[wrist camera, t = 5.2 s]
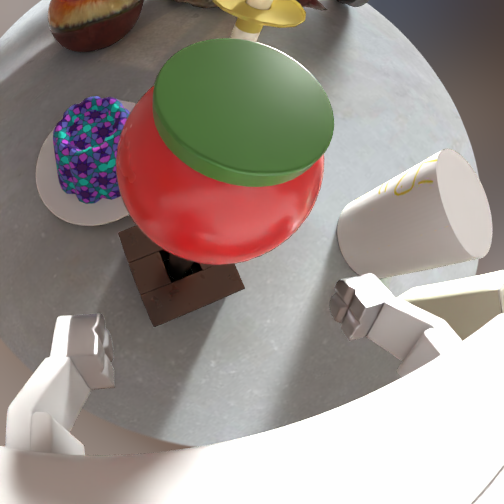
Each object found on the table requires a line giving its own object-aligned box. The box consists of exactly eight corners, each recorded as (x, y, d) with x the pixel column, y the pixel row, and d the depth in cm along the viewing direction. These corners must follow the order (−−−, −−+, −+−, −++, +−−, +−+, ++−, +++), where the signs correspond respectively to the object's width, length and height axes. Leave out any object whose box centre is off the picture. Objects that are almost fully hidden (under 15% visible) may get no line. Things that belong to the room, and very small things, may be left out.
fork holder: (229, 292, 22) (245, 288, 18) (156, 323, 20) (153, 327, 16) (198, 220, 22) (207, 199, 18) (126, 247, 20) (117, 232, 16)
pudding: (66, 257, 18) (41, 242, 14) (26, 145, 18) (5, 113, 14) (196, 181, 23) (206, 149, 18) (136, 87, 23) (136, 48, 18)
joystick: (211, 285, 22) (409, 187, 4) (162, 305, 20) (151, 292, 3) (191, 236, 22) (298, 18, 4) (142, 255, 20) (86, 38, 3)
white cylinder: (385, 196, 29) (469, 152, 18) (405, 269, 28) (499, 246, 17) (327, 203, 26) (420, 144, 15) (350, 289, 25) (460, 270, 14)
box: (395, 342, 26) (504, 344, 14) (385, 302, 26) (498, 289, 14) (424, 320, 28) (522, 313, 15) (415, 284, 28) (515, 265, 16)
